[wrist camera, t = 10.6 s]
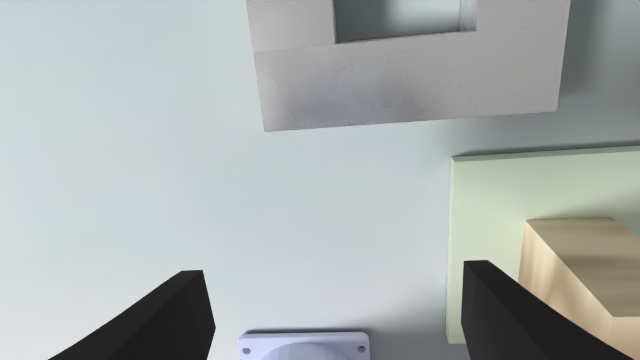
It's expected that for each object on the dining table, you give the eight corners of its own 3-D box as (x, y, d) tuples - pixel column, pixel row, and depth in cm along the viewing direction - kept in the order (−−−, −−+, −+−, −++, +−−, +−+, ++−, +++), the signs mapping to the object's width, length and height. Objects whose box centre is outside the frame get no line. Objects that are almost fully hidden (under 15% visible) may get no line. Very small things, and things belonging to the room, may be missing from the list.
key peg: (597, 285, 20) (712, 406, 14) (517, 287, 21) (593, 405, 14) (611, 216, 19) (746, 315, 13) (524, 220, 19) (612, 317, 13)
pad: (645, 330, 22) (655, 340, 21) (445, 333, 23) (448, 344, 22) (693, 141, 18) (708, 146, 18) (450, 157, 19) (454, 162, 19)
